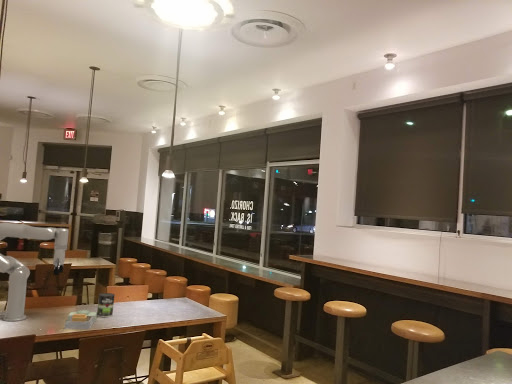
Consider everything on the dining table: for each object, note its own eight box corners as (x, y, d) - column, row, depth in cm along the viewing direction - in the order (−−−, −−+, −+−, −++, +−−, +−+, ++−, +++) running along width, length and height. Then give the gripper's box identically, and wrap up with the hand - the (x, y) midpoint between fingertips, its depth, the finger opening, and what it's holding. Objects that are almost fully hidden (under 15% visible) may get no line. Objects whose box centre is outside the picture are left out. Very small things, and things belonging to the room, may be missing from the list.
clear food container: (67, 322, 251) (68, 313, 252) (70, 318, 260) (71, 309, 261) (94, 322, 255) (94, 313, 255) (96, 318, 264) (97, 310, 264)
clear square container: (64, 328, 238) (65, 321, 238) (69, 321, 252) (70, 315, 252) (89, 328, 241) (90, 321, 242) (93, 322, 255) (94, 315, 256)
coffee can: (113, 316, 270) (116, 295, 271) (97, 317, 265) (100, 296, 266) (111, 313, 279) (113, 292, 280) (95, 313, 274) (97, 293, 275)
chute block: (71, 325, 243) (72, 315, 244) (72, 323, 248) (73, 313, 248) (85, 325, 245) (86, 315, 246) (86, 323, 250) (87, 313, 250)
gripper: (57, 245, 268) (55, 271, 267) (50, 248, 251) (48, 275, 250) (69, 246, 270) (67, 271, 269) (63, 249, 253) (61, 276, 252)
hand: (58, 273), depth 260 cm, fingers open, 9 cm apart
